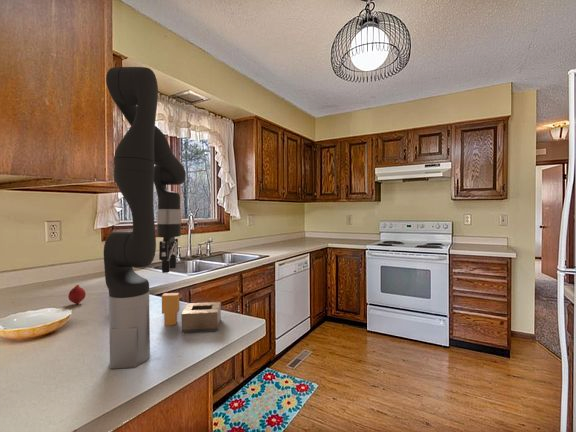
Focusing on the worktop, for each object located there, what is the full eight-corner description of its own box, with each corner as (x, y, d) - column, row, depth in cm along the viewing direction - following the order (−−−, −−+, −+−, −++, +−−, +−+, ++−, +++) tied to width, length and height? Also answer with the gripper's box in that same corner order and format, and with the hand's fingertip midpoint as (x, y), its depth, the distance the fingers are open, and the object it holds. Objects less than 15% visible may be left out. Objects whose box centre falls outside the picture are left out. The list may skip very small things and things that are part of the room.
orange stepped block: (177, 324, 103) (177, 295, 103) (162, 325, 103) (161, 295, 102) (179, 321, 106) (179, 292, 106) (164, 322, 106) (164, 293, 105)
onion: (76, 306, 123) (76, 286, 123) (64, 305, 124) (64, 286, 124) (89, 302, 129) (88, 283, 129) (77, 301, 130) (77, 282, 130)
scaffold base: (217, 331, 97) (217, 312, 97) (181, 333, 96) (181, 313, 96) (220, 319, 108) (220, 302, 108) (188, 321, 107) (188, 303, 106)
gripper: (175, 223, 98) (175, 274, 98) (185, 222, 112) (185, 266, 112) (150, 223, 97) (150, 274, 97) (163, 222, 111) (164, 267, 111)
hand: (169, 270), depth 104 cm, fingers open, 8 cm apart
